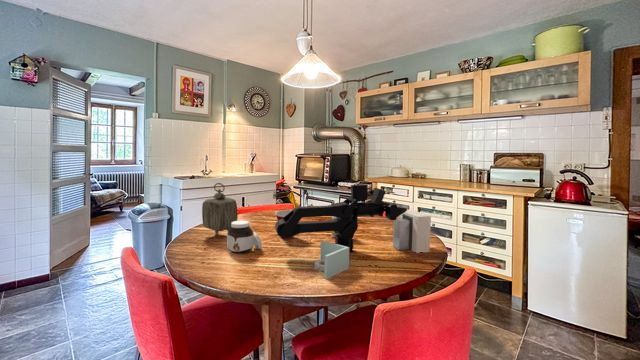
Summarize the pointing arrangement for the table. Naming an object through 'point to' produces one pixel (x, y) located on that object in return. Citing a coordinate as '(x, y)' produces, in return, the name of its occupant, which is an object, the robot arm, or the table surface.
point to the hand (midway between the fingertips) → (400, 207)
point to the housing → (419, 230)
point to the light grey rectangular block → (402, 233)
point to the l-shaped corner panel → (332, 259)
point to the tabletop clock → (219, 212)
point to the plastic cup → (281, 215)
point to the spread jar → (242, 238)
